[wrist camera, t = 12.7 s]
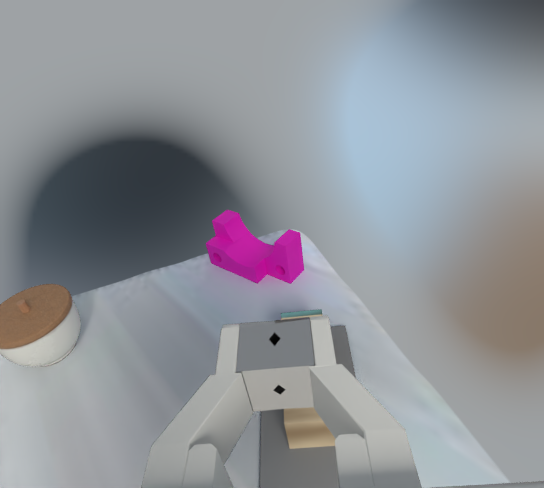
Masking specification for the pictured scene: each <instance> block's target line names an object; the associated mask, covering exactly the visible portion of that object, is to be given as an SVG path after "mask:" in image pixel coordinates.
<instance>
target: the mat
mask: <svg viewBox="0 0 544 488" xmlns="http://www.w3.org/2000/svg"><path fill="white" fill-rule="evenodd" d="M331 334H332V340H333V346H334V352H335V358H336V364H342V365H343V366H344V367H345V368H346V369H347V370H348V371H349V372H350V373H351V374H352V375H353V376H354V377H355V372H354V367H353V362H352V357H351V352H350V347H349V342H348V337H347V333H346V328H345V326H335V327H331ZM355 378H356V377H355ZM260 488H338V483H337V468H336V453H335V446H325V447H310V448H295V449H290V448H289V443H288V439H287V434H286V429H285V425H284V409H276V410H266V411H261V453H260Z"/></svg>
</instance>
